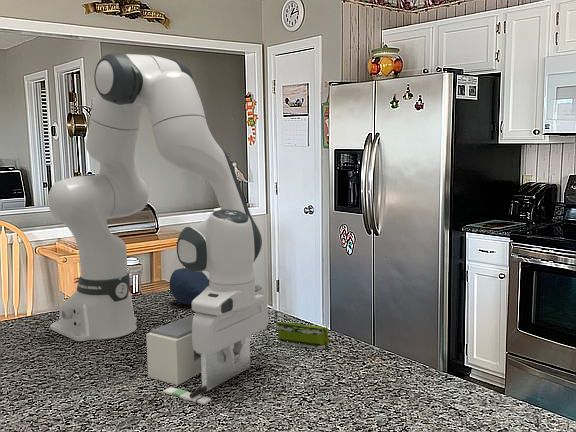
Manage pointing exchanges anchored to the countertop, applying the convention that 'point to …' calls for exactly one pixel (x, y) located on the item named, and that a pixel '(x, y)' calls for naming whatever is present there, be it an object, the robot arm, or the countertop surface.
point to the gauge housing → (174, 357)
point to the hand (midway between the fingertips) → (233, 362)
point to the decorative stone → (187, 285)
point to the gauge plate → (221, 368)
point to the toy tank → (302, 335)
